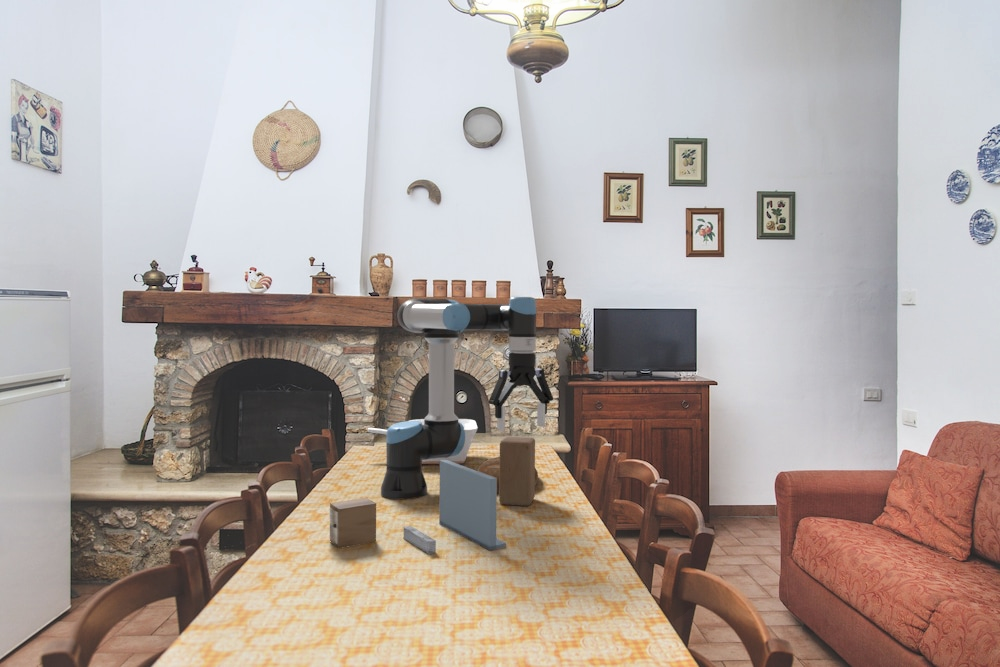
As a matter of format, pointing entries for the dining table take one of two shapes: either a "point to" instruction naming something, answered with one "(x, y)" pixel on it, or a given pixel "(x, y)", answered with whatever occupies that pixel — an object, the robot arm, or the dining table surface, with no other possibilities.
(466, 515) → the wall board
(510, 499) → the wooden block
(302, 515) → the dining table surface
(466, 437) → the pot
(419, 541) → the cleat rail
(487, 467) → the bread
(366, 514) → the wooden box
